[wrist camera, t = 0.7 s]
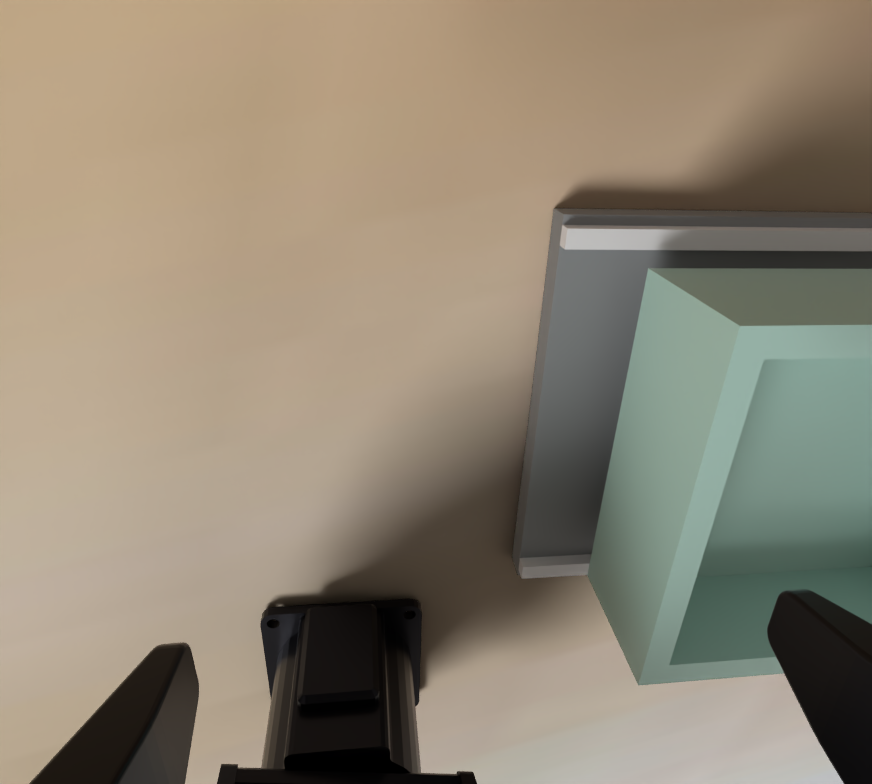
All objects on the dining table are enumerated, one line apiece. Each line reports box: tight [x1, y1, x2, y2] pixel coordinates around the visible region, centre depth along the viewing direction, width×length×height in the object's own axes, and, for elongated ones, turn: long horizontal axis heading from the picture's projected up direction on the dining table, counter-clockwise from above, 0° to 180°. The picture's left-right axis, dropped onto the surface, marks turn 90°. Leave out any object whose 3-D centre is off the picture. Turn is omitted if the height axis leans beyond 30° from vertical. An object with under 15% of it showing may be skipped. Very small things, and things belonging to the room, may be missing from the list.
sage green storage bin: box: [587, 268, 872, 685], centre depth 19 cm, size 12×12×6 cm
